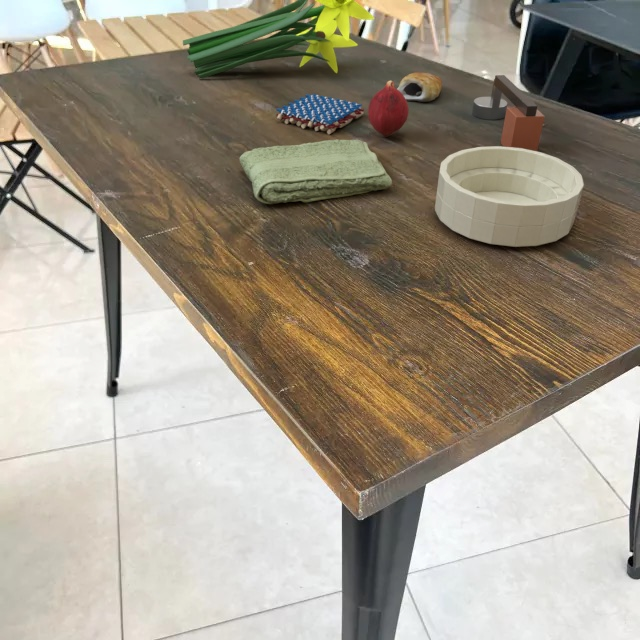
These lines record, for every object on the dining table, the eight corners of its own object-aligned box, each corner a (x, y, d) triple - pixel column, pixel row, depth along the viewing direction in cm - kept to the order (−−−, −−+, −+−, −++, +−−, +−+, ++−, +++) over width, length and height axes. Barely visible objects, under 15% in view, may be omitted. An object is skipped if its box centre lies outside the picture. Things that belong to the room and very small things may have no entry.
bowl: (541, 185, 83) (551, 144, 79) (594, 248, 70) (608, 202, 67) (421, 190, 81) (426, 148, 78) (454, 254, 69) (461, 208, 66)
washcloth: (396, 193, 81) (398, 168, 79) (257, 211, 77) (256, 186, 75) (361, 153, 91) (362, 130, 89) (237, 167, 87) (235, 144, 85)
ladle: (468, 109, 105) (474, 66, 101) (499, 108, 106) (506, 65, 102) (505, 154, 91) (514, 106, 87) (541, 153, 91) (551, 105, 87)
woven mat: (331, 136, 96) (331, 123, 94) (273, 122, 100) (273, 109, 99) (366, 116, 103) (367, 103, 101) (311, 103, 107) (310, 91, 106)
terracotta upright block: (526, 142, 94) (534, 106, 91) (536, 153, 91) (544, 116, 88) (500, 143, 94) (506, 106, 91) (509, 154, 91) (516, 116, 88)
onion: (408, 144, 93) (413, 87, 89) (368, 143, 93) (371, 87, 89) (403, 129, 98) (408, 75, 93) (365, 129, 98) (368, 75, 93)
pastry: (414, 84, 116) (416, 61, 113) (450, 90, 113) (453, 67, 111) (393, 99, 109) (395, 75, 107) (430, 106, 107) (433, 82, 104)
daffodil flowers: (201, 62, 129) (372, 10, 125) (211, 121, 124) (389, 69, 120) (167, -5, 114) (360, -67, 110) (176, 60, 108) (379, -3, 104)
